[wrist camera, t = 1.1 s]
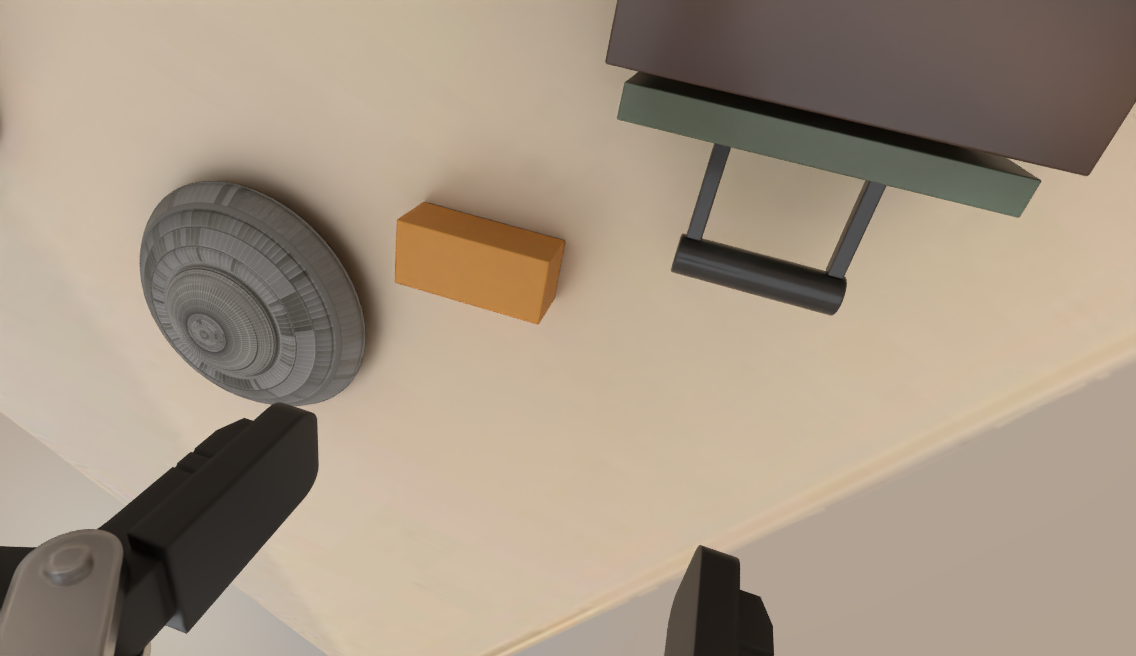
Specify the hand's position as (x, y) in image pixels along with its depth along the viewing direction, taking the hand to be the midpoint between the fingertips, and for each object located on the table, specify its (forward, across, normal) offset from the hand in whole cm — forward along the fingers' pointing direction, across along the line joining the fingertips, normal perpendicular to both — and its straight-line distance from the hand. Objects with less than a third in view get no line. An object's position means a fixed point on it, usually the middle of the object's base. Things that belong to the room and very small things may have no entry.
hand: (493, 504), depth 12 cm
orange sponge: (+21, +7, +5) cm, 23 cm away
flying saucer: (+21, +21, +12) cm, 32 cm away
